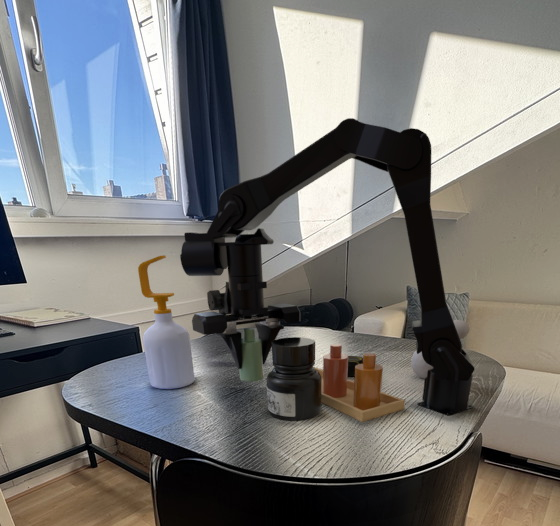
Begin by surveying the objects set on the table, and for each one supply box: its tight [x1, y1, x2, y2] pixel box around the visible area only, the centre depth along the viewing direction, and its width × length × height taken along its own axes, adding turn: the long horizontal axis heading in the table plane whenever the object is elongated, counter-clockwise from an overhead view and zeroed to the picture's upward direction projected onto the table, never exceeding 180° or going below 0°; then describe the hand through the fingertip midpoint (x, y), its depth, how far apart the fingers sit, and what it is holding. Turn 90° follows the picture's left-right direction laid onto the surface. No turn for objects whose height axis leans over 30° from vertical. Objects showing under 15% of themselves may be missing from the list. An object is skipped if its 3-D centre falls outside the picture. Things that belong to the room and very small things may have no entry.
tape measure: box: [347, 355, 363, 377], centre depth 87 cm, size 7×7×4 cm
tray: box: [313, 366, 406, 423], centre depth 75 cm, size 25×9×2 cm, turn 32°
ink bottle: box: [266, 336, 322, 422], centre depth 66 cm, size 10×9×12 cm
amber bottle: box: [353, 352, 384, 411], centre depth 67 cm, size 4×4×9 cm
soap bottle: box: [137, 254, 195, 390], centre depth 81 cm, size 9×9×25 cm
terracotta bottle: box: [322, 343, 349, 398], centre depth 73 cm, size 4×4×9 cm
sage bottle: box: [238, 327, 264, 383], centre depth 74 cm, size 4×4×9 cm
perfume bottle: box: [410, 319, 470, 380], centre depth 81 cm, size 8×10×12 cm
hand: (251, 366), depth 75 cm, fingers closed on sage bottle, 4 cm apart
